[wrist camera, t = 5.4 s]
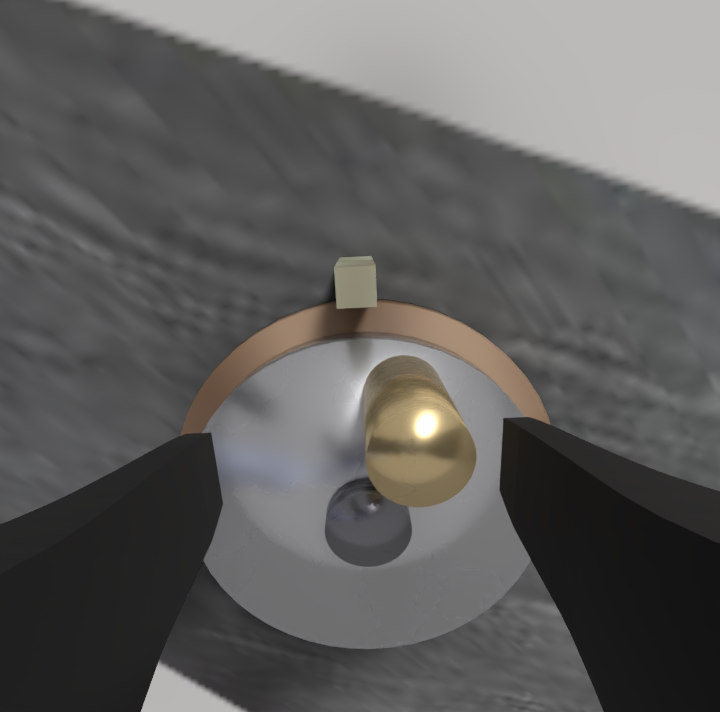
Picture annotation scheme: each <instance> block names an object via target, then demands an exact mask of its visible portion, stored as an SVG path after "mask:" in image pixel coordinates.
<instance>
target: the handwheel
mask: <svg viewBox="0 0 720 712" xmlns="http://www.w3.org/2000/svg"><path fill="white" fill-rule="evenodd" d="M514 417H524V415H523V414H522V412H521V410H520V409H519V408H518V407H517V406H516V405H515V403H514V402H513V401H512V400H511V399H510V398H509V397H508V395H507V394H506V393H505V392H504V391H503V390H502V389H501V388H500V386H499V385H498V384H497V383H496V382H495V381H494V380H493V379H492V378H491V377H490V376H488V375H487V374H486V373H485V372H484V371H482V370H481V369H480V368H479V367H478V366H476V365H475V364H473V363H472V362H470V361H468V360H467V359H465V358H464V357H462V356H461V355H459V354H457V353H455V352H453V351H451V350H449V349H446V348H444V347H442V346H440V345H438V344H435V343H432V342H429V341H425V340H422V339H419V338H415V337H412V336H406V335H400V334H394V333H388V332H353V333H342V334H335V335H331V336H326V337H322V338H317V339H313V340H311V341H308V342H305V343H302V344H299V345H297V346H294V347H291V348H289V349H287V350H285V351H284V352H282V353H280V354H278V355H276V356H274V357H272V358H270V359H269V360H267V361H266V362H264V363H263V364H262V365H260V366H259V367H257V368H256V369H255V370H253V371H252V372H251V373H249V374H248V375H247V376H246V377H245V378H244V379H243V380H242V381H241V382H240V383H239V384H238V385H237V386H236V387H235V388H234V389H233V390H232V391H231V393H230V394H229V395H228V396H227V398H226V399H225V400H224V401H223V403H222V404H221V405H220V407H219V408H218V409H217V411H216V412H215V413H214V414H213V416H212V417H211V419H210V420H209V422H208V424H207V426H206V427H205V429H204V431H203V433H210V432H211V434H212V440H213V446H214V452H215V458H216V464H217V470H218V476H219V482H220V488H221V494H222V500H223V506H222V509H221V513H220V517H219V520H218V524H217V527H216V530H215V533H214V536H213V539H212V542H211V544H210V546H209V549H208V551H207V553H206V555H205V558H204V560H203V561H204V563H205V564H206V566H207V568H208V569H209V571H210V573H211V574H212V576H213V577H214V578H215V579H216V581H217V582H218V583H219V584H220V586H221V587H222V588H223V589H224V590H225V591H226V592H227V593H228V594H229V595H230V596H231V597H232V598H233V599H234V600H235V601H236V602H237V603H238V604H239V605H241V606H242V607H243V608H244V609H246V610H247V611H248V612H250V613H251V614H252V615H253V616H255V617H257V618H258V619H260V620H262V621H263V622H265V623H267V624H268V625H270V626H272V627H274V628H276V629H278V630H281V631H283V632H285V633H287V634H289V635H292V636H295V637H298V638H301V639H304V640H307V641H310V642H315V643H319V644H323V645H328V646H334V647H342V648H352V649H378V648H391V647H397V646H403V645H409V644H414V643H417V642H421V641H425V640H428V639H432V638H434V637H437V636H440V635H442V634H445V633H447V632H450V631H452V630H454V629H456V628H458V627H460V626H462V625H464V624H466V623H467V622H469V621H471V620H473V619H474V618H476V617H477V616H478V615H480V614H481V613H483V612H484V611H486V610H487V609H489V608H490V607H491V606H492V605H493V604H494V603H496V602H497V601H498V600H499V599H500V598H501V597H503V596H504V594H505V593H506V592H507V591H508V590H509V589H510V588H511V587H512V586H513V585H514V584H515V583H516V581H517V580H518V579H519V577H520V576H521V574H522V573H523V572H524V570H525V569H526V567H527V566H528V564H529V562H530V560H531V559H530V557H529V555H528V553H527V551H526V550H525V548H524V546H523V544H522V542H521V540H520V538H519V537H518V535H517V533H516V531H515V529H514V527H513V525H512V522H511V520H510V517H509V515H508V512H507V510H506V507H505V504H504V502H503V499H502V496H501V493H500V491H499V488H500V470H501V452H502V434H503V418H514Z"/></svg>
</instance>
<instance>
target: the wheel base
mask: <svg viewBox="0 0 720 712" xmlns="http://www.w3.org/2000/svg"><path fill="white" fill-rule="evenodd" d="M334 274H335V290H336V301H334V302H328V303H324V304H320V305H316V306H312V307H308V308H305V309H302V310H300V311H297V312H295V313H292V314H289V315H287V316H284V317H282V318H280V319H278V320H276V321H275V322H273V323H271V324H269V325H267V326H266V327H264V328H262V329H260V330H259V331H257V332H256V333H255V334H253V335H252V336H251V337H249V338H248V339H247V340H245V341H244V342H243V343H241V344H240V345H239V346H238V347H237V348H236V349H235V350H234V351H233V352H232V353H231V354H230V355H229V356H228V357H227V358H226V359H225V360H224V361H223V362H222V363H221V364H220V365H219V366H218V367H217V368H216V369H215V370H214V371H213V373H212V374H211V375H210V377H209V378H208V379H207V381H206V382H205V383H204V385H203V386H202V388H201V389H200V390H199V392H198V394H197V396H196V398H195V400H194V402H193V403H192V405H191V407H190V409H189V411H188V414H187V416H186V419H185V422H184V425H183V428H182V431H181V434H180V436H182V435H184V434H190V433H203V431H204V429H205V427H206V426H207V424H208V422H209V420H210V419H211V417H212V416H213V414H214V413H215V412H216V411H217V409H218V408H219V407H220V405H221V404H222V403H223V401H224V400H225V399H226V398H227V396H228V395H229V394H230V393H231V391H232V390H233V389H234V388H235V387H236V386H237V385H238V384H239V383H240V382H241V381H242V380H243V379H244V378H245V377H246V376H247V375H248V374H249V373H251V372H252V371H253V370H255V369H256V368H257V367H259V366H260V365H262V364H263V363H264V362H266V361H267V360H269V359H270V358H272V357H274V356H276V355H278V354H280V353H282V352H284V351H285V350H287V349H289V348H291V347H294V346H297V345H299V344H302V343H305V342H308V341H311V340H313V339H317V338H322V337H326V336H331V335H335V334H342V333H353V332H388V333H394V334H400V335H406V336H412V337H415V338H419V339H422V340H425V341H429V342H432V343H435V344H438V345H440V346H442V347H444V348H446V349H449V350H451V351H453V352H455V353H457V354H459V355H461V356H462V357H464V358H465V359H467V360H468V361H470V362H472V363H473V364H475V365H476V366H478V367H479V368H480V369H481V370H482V371H484V372H485V373H486V374H487V375H488V376H490V377H491V378H492V379H493V380H494V381H495V382H496V383H497V384H498V385H499V386H500V388H501V389H502V390H503V391H504V392H505V393H506V394H507V395H508V397H509V398H510V399H511V400H512V401H513V402H514V403H515V405H516V406H517V407H518V408H519V409H520V410H521V412H522V414H523V415H524V417H531V418H534V419H537V420H540V421H542V422H545V423H547V424H549V425H551V424H550V421H549V418H548V415H547V413H546V411H545V409H544V406H543V404H542V402H541V400H540V398H539V396H538V394H537V393H536V391H535V390H534V388H533V387H532V385H531V383H530V382H529V380H528V379H527V377H526V376H525V375H524V374H523V372H522V371H521V370H520V369H519V368H518V367H517V366H516V365H515V364H514V363H513V361H512V360H511V359H510V358H509V357H508V356H507V355H506V354H505V353H503V352H502V351H501V350H500V349H499V348H498V347H496V346H495V345H494V344H493V343H492V342H490V341H489V340H488V339H487V338H485V337H484V336H483V335H482V334H480V333H479V332H477V331H476V330H474V329H472V328H471V327H469V326H467V325H466V324H464V323H463V322H461V321H459V320H457V319H455V318H452V317H450V316H448V315H445V314H443V313H441V312H439V311H436V310H433V309H429V308H426V307H422V306H419V305H416V304H412V303H406V302H400V301H393V300H386V299H377V291H376V266H375V263H374V261H373V259H372V256H362V257H341V258H339V260H338V262H337V263H336V265H335V267H334Z"/></svg>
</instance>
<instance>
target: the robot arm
mask: <svg viewBox="0 0 720 712" xmlns="http://www.w3.org/2000/svg"><path fill="white" fill-rule="evenodd" d="M499 491H500V493H501V496H502V499H503V502H504V504H505V507H506V510H507V512H508V515H509V517H510V520H511V522H512V525H513V527H514V529H515V531H516V533H517V535H518V537H519V538H520V540H521V542H522V544H523V546H524V548H525V550H526V551H527V553H528V555H529V557H530V559H531V561H532V562H533V564H534V566H535V568H536V570H537V571H538V573H539V575H540V577H541V579H542V580H543V582H544V584H545V586H546V588H547V589H548V591H549V593H550V595H551V597H552V599H553V600H554V602H555V604H556V606H557V608H558V609H559V611H560V613H561V615H562V617H563V619H564V621H565V623H566V625H567V627H568V629H569V631H570V633H571V635H572V638H573V640H574V642H575V645H576V647H577V649H578V652H579V654H580V656H581V658H582V661H583V663H584V665H585V668H586V670H587V672H588V675H589V677H590V679H591V682H592V684H593V686H594V689H595V691H596V694H597V696H598V699H599V701H600V704H601V706H602V708H603V711H604V712H720V491H716V490H713V489H710V488H707V487H703V486H700V485H697V484H694V483H691V482H688V481H685V480H682V479H679V478H676V477H673V476H670V475H667V474H665V473H662V472H659V471H656V470H654V469H651V468H648V467H646V466H643V465H641V464H638V463H636V462H633V461H631V460H628V459H626V458H623V457H621V456H619V455H616V454H614V453H612V452H609V451H607V450H605V449H602V448H600V447H598V446H596V445H593V444H591V443H589V442H587V441H585V440H582V439H580V438H578V437H576V436H574V435H571V434H569V433H567V432H565V431H563V430H561V429H558V428H556V427H554V426H552V425H549V424H547V423H545V422H542V421H540V420H537V419H534V418H531V417H514V418H503V434H502V452H501V470H500V488H499ZM222 506H223V500H222V494H221V488H220V482H219V476H218V470H217V464H216V458H215V452H214V446H213V440H212V434H211V432H210V433H190V434H184V435H182V436H179V437H177V438H175V439H173V440H171V441H169V442H167V443H165V444H163V445H161V446H159V447H157V448H156V449H154V450H152V451H150V452H148V453H147V454H145V455H143V456H141V457H139V458H138V459H136V460H134V461H132V462H130V463H129V464H127V465H125V466H123V467H121V468H119V469H118V470H116V471H114V472H112V473H110V474H108V475H106V476H104V477H102V478H100V479H98V480H96V481H95V482H93V483H91V484H89V485H87V486H85V487H83V488H81V489H79V490H77V491H75V492H73V493H71V494H69V495H67V496H65V497H63V498H61V499H59V500H57V501H54V502H52V503H50V504H48V505H46V506H43V507H41V508H39V509H36V510H34V511H32V512H29V513H27V514H25V515H22V516H20V517H18V518H15V519H13V520H11V521H8V522H6V523H3V524H1V525H0V712H141V709H142V706H143V703H144V700H145V697H146V694H147V692H148V689H149V686H150V683H151V681H152V678H153V675H154V672H155V669H156V666H157V664H158V661H159V658H160V655H161V653H162V650H163V648H164V645H165V643H166V641H167V638H168V636H169V633H170V631H171V629H172V627H173V625H174V622H175V620H176V618H177V616H178V614H179V612H180V609H181V607H182V605H183V603H184V601H185V599H186V597H187V594H188V592H189V590H190V588H191V586H192V584H193V582H194V579H195V577H196V575H197V573H198V571H199V569H200V566H201V564H202V562H203V560H204V558H205V555H206V553H207V551H208V549H209V546H210V544H211V542H212V539H213V536H214V533H215V530H216V527H217V524H218V520H219V517H220V513H221V509H222Z"/></svg>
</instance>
